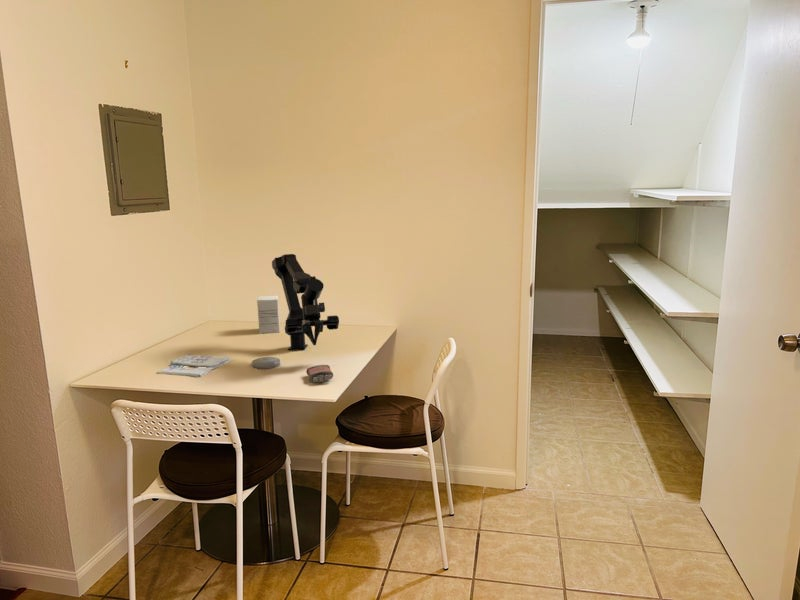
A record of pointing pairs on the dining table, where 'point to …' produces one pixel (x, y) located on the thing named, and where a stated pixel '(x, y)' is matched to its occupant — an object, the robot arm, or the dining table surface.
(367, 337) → the dining table surface
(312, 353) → the dining table surface
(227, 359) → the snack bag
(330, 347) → the dining table surface
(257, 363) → the grey smooth stone
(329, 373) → the lighter
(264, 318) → the supplement box
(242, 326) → the dining table surface
